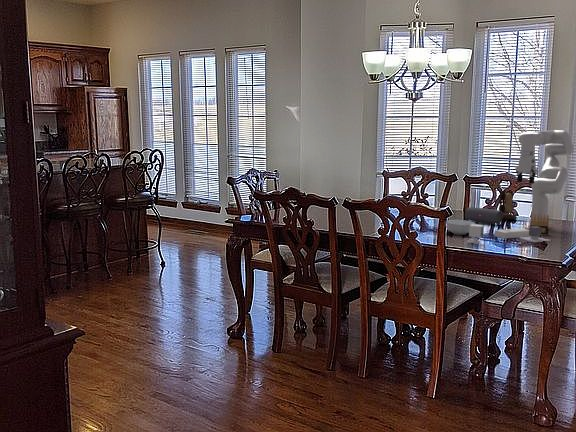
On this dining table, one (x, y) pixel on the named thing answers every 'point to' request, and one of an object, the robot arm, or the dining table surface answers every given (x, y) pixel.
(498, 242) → the dining table surface
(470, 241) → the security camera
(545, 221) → the ammunition clip
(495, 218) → the bluetooth speaker
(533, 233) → the block
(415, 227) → the dining table surface
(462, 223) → the cereal bowl
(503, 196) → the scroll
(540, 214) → the robot arm
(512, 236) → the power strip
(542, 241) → the felt pad
